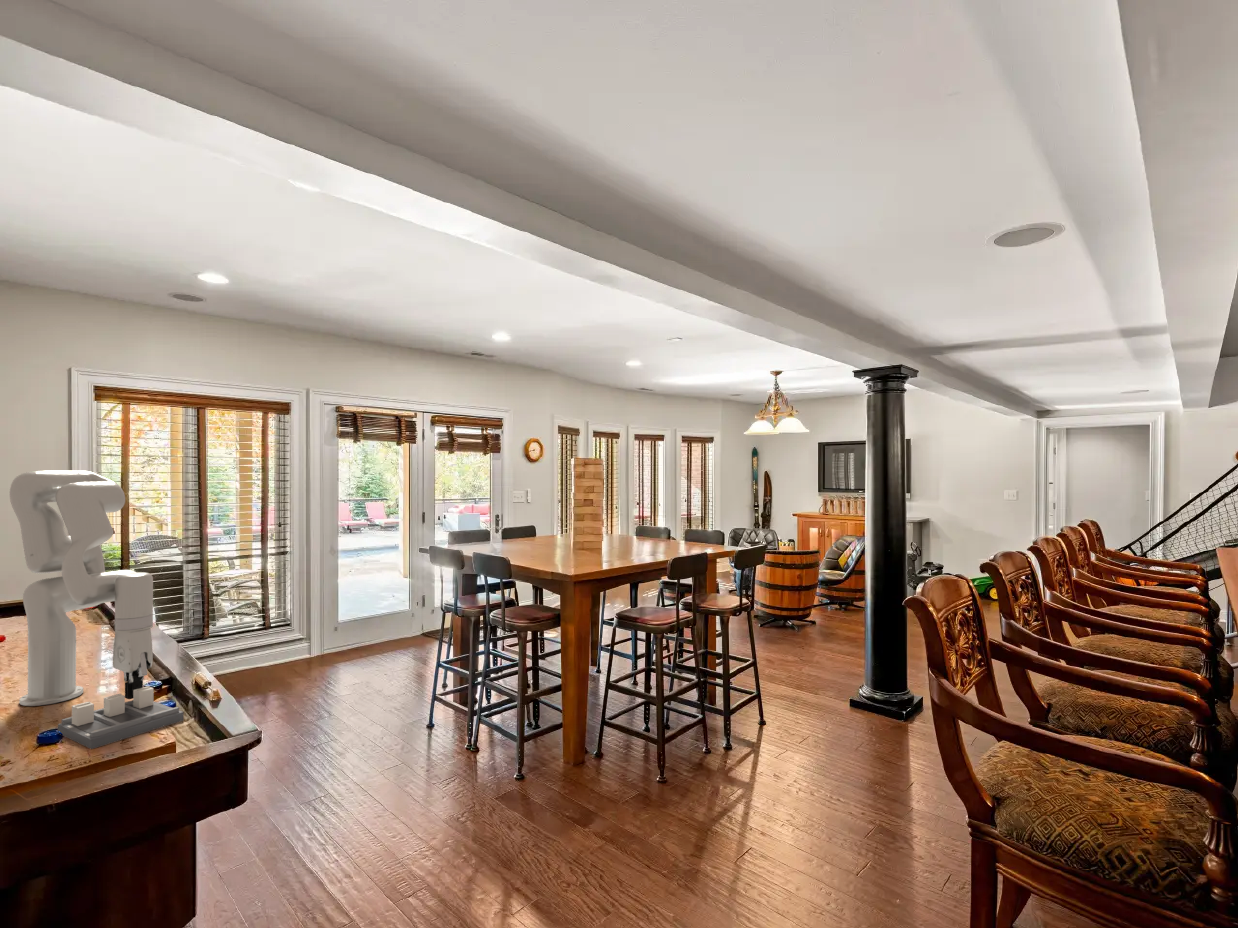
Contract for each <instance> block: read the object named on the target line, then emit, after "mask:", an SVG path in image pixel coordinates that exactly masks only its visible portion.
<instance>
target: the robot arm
mask: <svg viewBox="0 0 1238 928" xmlns="http://www.w3.org/2000/svg"><path fill="white" fill-rule="evenodd" d="M9 501H10V505H11V507H12V510H13V512H14V514H15V516H16V518H17V521H18V522H19V526H20V533H21V539H22V545H23V546H22V547H23V552H24V559H25V563H26V567H27V568H28V570H29V571H30V572H32V573H34V574H38V575H39V574H40V575H41V574H51V573H58V572H59V573H60V572H61V576H55V577H49V578H42V579H40V580H36V581H34V582H31V583H30V584H29V585H28V586H27V587H26V588H24V591H23V593H22V594H23V595H22V602H23V607H24V610H25V614H26V615H25V616H26V621H27V694H24V695H22V696H21V697H20V698H19V700H18V701H19V702H18V703H19V704H20V705H21V706H24V707H25V706H26V707H36V706H45V705H46V706H47V705H51V704H57V703H61V702H65V701H69V700H71V699H74V698H77V697H79V696H81V695H82V694H83V693H84V687H83V686H81V685H77V628H76V624H75V623H74V621H73V620H72V619H71V618H70V617H69V615H67V613H69V612H73V611H76V610H77V611H78V610H83V609H88V608H94V607H97V606H98V605H102V604H104V603H111V602H114V633H115V635H114V639H113V650H112V651H113V652H112V667H113V668H114V669H115V670H119V671H121V672H123V680H124V696H125V700H133V690H135V689H139V688H143V687H144V680H145V676H148V669H150V668H152V666H153V657H154V655H153V654H154V653H153V641H152V640H153V639H152V630H151V629H153V628H154V577H153V575H152V574H151V573H149V572H144V571H143V572H142V571H140V572H138V571H137V572H136V571H134V570H131V569H121V570H120V569H119V570H114V571H106V567H105V561H104V554H103V550H102V546H101V545H103V544H104V543H106V542H107V541H108V540H110V539H111V538H112V537H113V535H114V529H113V527H112V524H111V522H110V519H109V517H108V513H116V512H119V511H120V510H122V509H123V507H124V506H125V504H126V495H125V492H124V489H122V487H121V486H120V484H118V483H117V482H115V481H113V480H112V479H109V478H106V477H104V476H102V475H100V474H97V473H95V472H92V471H88V470H35V471H26V472H23V473H21V474H19V475H17V476H15V477H14V479H13V480H12V482H11V484H10V487H9ZM48 503H56V505H57V507H58V510H59V512H60V513H59V512H57V511H56V510H55V509H54V508H53V506H52V507H51V506H50V505H49V504H48ZM60 514H61V515H60ZM64 526H65V527H64ZM65 528H66V529H67V533H68V535H67V533H66V531H65Z"/></svg>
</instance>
